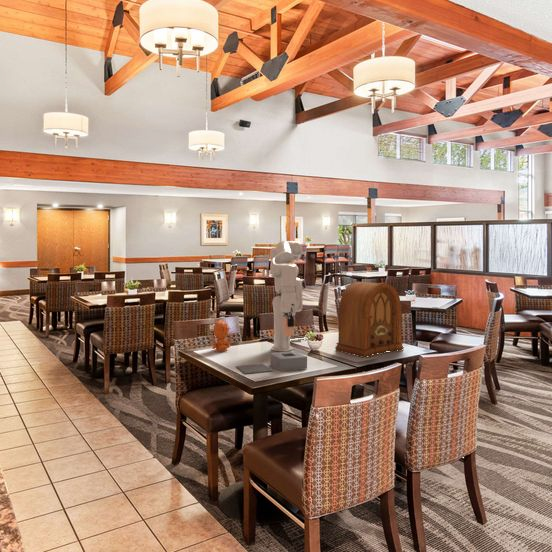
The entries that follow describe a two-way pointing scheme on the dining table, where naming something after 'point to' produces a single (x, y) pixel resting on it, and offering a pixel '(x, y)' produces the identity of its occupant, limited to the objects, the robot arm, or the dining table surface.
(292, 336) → the clipboard
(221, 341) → the toy dinosaur
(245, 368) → the mat
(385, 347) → the radio
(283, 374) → the dining table surface
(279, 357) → the grey square base
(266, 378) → the dining table surface
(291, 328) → the peach cylinder
